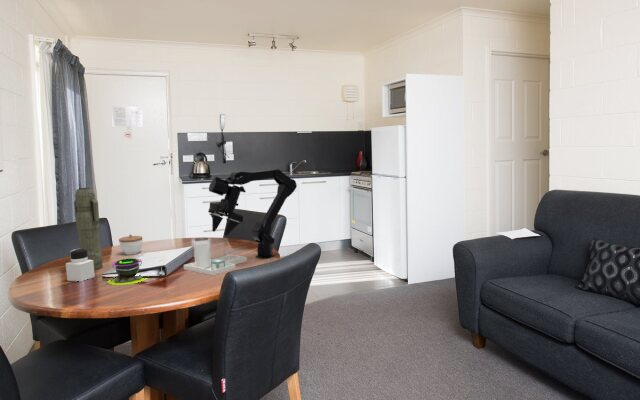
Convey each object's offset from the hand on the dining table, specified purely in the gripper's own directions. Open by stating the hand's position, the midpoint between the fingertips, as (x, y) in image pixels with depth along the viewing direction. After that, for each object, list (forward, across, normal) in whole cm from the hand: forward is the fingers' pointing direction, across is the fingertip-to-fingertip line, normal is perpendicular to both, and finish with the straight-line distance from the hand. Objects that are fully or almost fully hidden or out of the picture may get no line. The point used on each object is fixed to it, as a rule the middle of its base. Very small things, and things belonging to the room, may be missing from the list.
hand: (219, 233), depth 202 cm
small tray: (+11, +3, +8) cm, 14 cm away
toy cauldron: (+28, -8, -28) cm, 40 cm away
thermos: (+31, -39, -29) cm, 58 cm away
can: (+16, +1, -3) cm, 16 cm away
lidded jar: (+23, -54, -6) cm, 59 cm away
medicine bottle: (+34, -25, -38) cm, 57 cm away
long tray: (+15, +5, -3) cm, 16 cm away
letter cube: (+14, +11, -2) cm, 18 cm away
